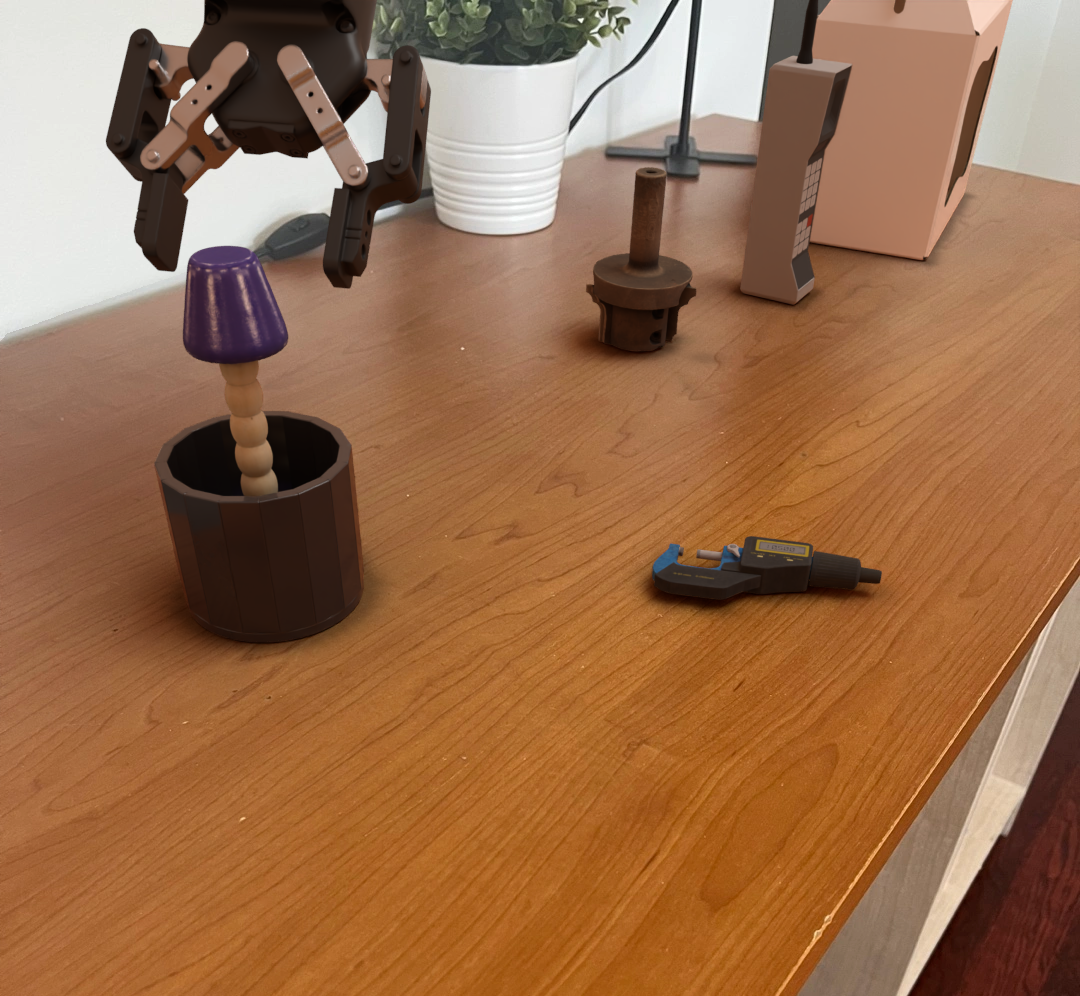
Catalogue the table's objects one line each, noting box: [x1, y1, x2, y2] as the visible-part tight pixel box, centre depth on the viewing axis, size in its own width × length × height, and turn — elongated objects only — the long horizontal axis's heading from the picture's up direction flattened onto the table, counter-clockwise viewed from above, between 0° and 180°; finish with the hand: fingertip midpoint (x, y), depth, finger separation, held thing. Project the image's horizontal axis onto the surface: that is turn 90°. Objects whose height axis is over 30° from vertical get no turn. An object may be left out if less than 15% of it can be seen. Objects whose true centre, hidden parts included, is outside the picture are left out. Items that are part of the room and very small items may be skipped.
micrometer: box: [651, 535, 883, 601], centre depth 60 cm, size 12×2×5 cm
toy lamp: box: [182, 245, 289, 496], centre depth 54 cm, size 5×5×17 cm
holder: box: [153, 410, 365, 644], centre depth 57 cm, size 9×9×8 cm
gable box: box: [810, 0, 1014, 261], centre depth 100 cm, size 22×13×28 cm, turn 156°
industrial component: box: [585, 166, 698, 352], centre depth 81 cm, size 9×7×12 cm
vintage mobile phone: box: [739, 0, 852, 305], centre depth 85 cm, size 4×5×25 cm
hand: (246, 272), depth 51 cm, fingers open, 8 cm apart
